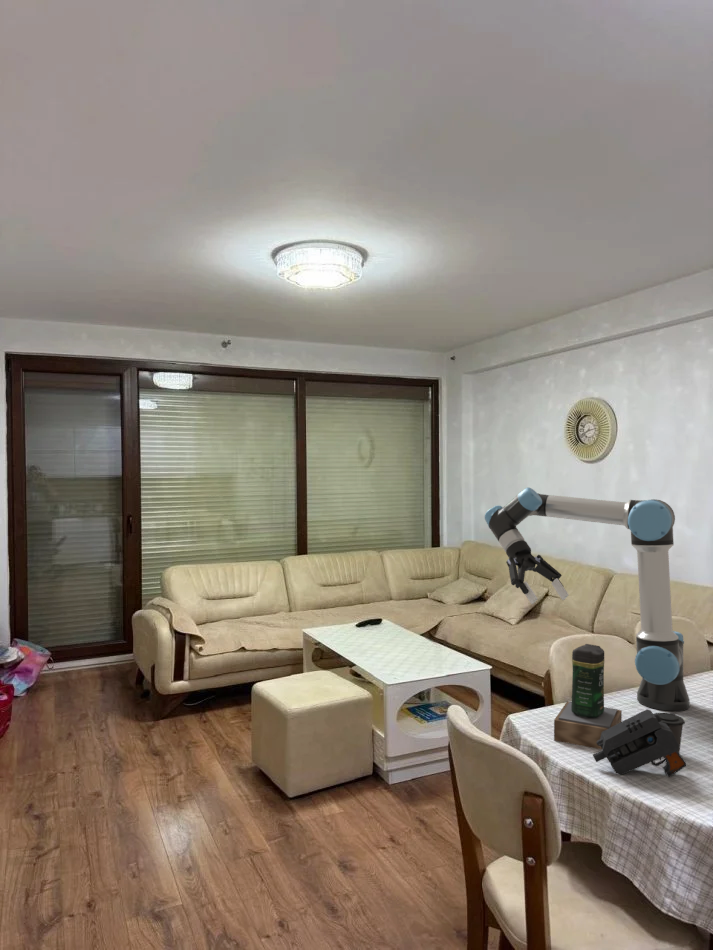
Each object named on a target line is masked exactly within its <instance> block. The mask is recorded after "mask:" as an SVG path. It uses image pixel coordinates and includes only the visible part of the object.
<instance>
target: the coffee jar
mask: <svg viewBox="0 0 713 950" xmlns="http://www.w3.org/2000/svg"><path fill="white" fill-rule="evenodd" d="M571 655H572V656H571V664H572V677H571V678H572V680H571V681H572V684H571V702H572V704H571V710H572V712H573V713H575V714H577V715H579V716H581V717H593V718H596V717H598V716H600V715H601V714H602V713H603V712H604V707H605V691H604V690H605V686H604V685H605V682H604V681H605V679H604V678H605V675H604V674H605V673H604V672H605V650H604V649H603V648H602V647H601V646H600V645H595V644H589V643H585V644H583V645H581V646H578V647H575V649H573V650H572V654H571Z"/></svg>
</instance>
